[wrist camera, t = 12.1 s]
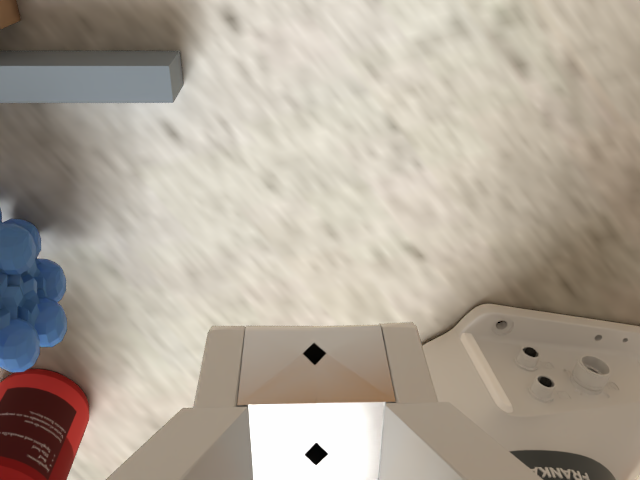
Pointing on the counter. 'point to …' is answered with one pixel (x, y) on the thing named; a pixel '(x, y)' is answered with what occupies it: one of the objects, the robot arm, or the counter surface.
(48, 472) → the canned food
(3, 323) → the grapes
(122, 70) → the bay
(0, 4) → the t block
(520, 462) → the robot arm
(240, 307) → the counter surface
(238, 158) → the counter surface
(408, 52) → the counter surface
